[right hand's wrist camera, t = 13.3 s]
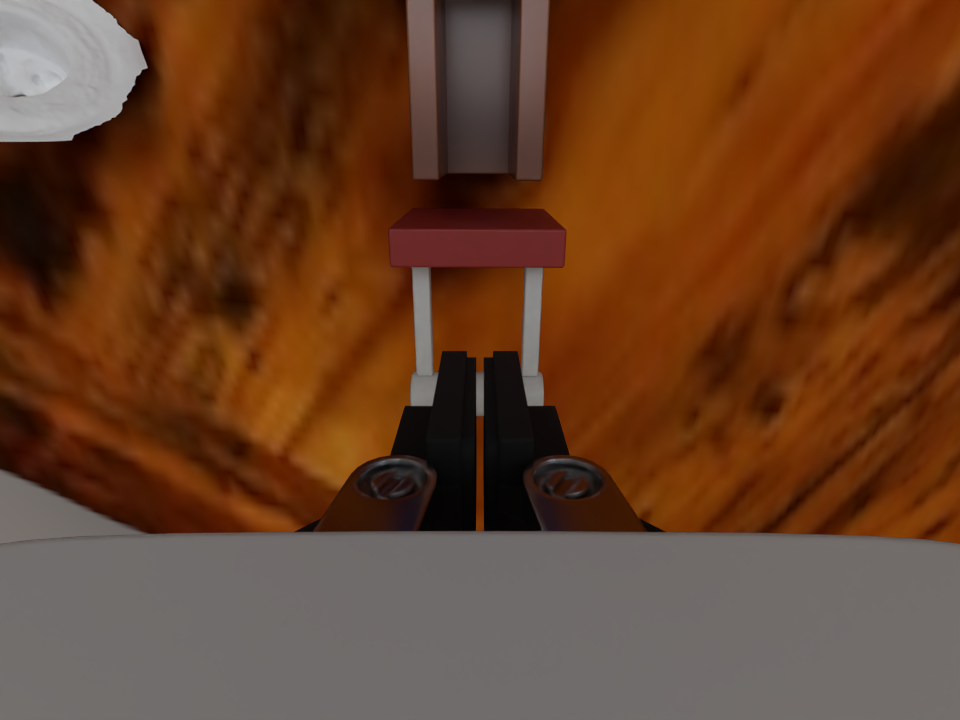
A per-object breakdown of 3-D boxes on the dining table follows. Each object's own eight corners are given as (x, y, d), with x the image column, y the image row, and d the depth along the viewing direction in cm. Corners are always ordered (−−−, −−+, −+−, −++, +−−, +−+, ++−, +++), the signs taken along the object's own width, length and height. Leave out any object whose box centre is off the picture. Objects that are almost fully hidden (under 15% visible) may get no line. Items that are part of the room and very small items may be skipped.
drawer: (536, 370, 25) (554, 437, 19) (418, 369, 25) (399, 436, 19) (568, -303, 16) (615, -547, 11) (390, -304, 16) (342, -548, 11)
